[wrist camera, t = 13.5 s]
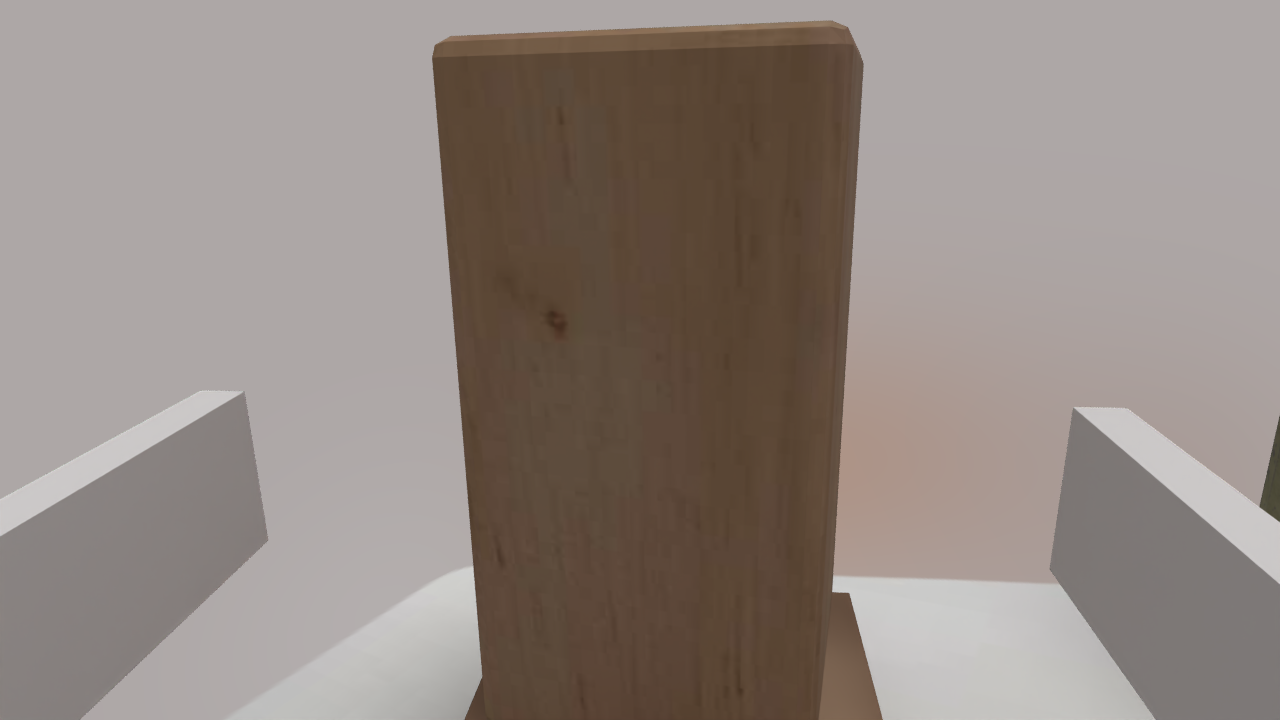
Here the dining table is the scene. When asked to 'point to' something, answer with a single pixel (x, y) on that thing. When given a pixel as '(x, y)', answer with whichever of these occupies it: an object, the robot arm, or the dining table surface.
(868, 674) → the walnut pedestal block
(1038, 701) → the dining table surface
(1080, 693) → the dining table surface
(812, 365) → the wooden block
